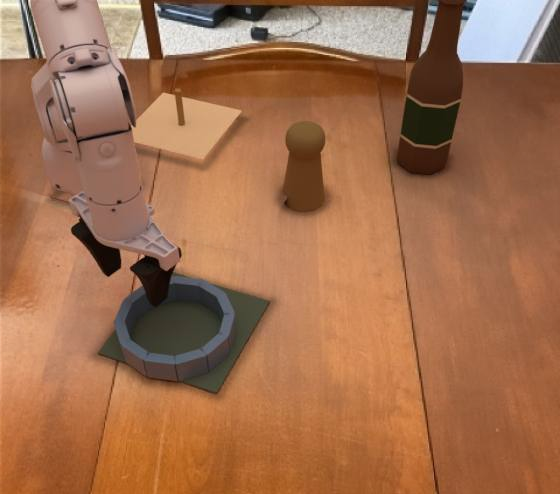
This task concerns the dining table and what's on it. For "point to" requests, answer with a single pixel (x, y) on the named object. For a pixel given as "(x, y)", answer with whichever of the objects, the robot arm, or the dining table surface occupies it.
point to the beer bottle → (433, 95)
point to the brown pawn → (304, 167)
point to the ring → (186, 362)
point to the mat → (192, 332)
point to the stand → (183, 124)
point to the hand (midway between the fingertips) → (135, 286)
